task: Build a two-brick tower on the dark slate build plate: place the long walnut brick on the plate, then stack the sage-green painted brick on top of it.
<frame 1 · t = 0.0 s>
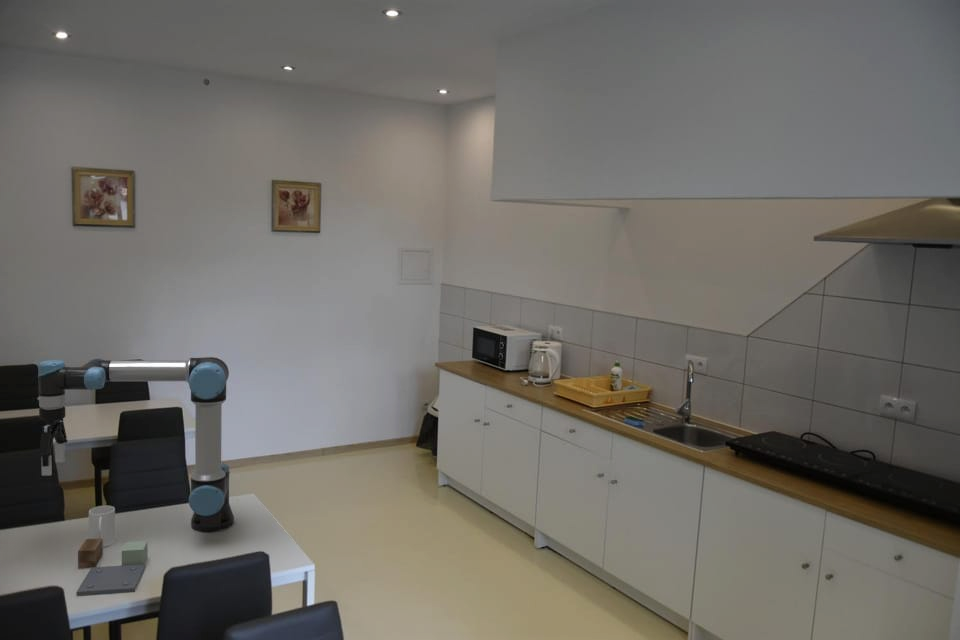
hand: (53, 468, 240), 28 cm above the table, fingers open, 13 cm apart
mug: (101, 545, 247), on the table
sage brick: (134, 563, 235), on the table
walnut brick: (90, 561, 235), on the table
build plate: (112, 581, 223), on the table
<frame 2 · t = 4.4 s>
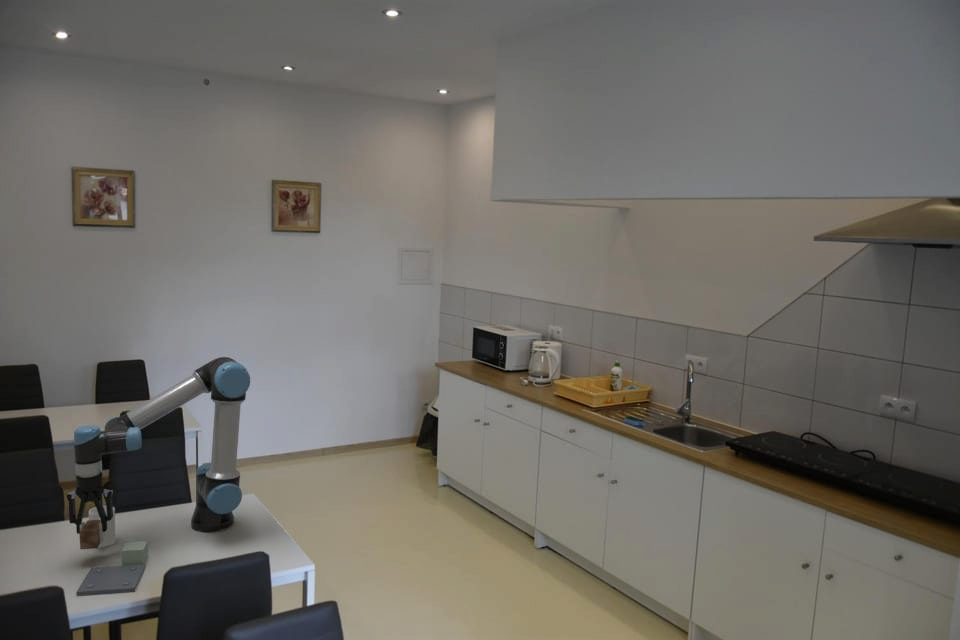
hand: (92, 541, 234), 7 cm above the table, fingers closed on walnut brick, 5 cm apart
walnut brick: (92, 542, 234), point 6 cm above the table, touching gripper
everything else where it was.
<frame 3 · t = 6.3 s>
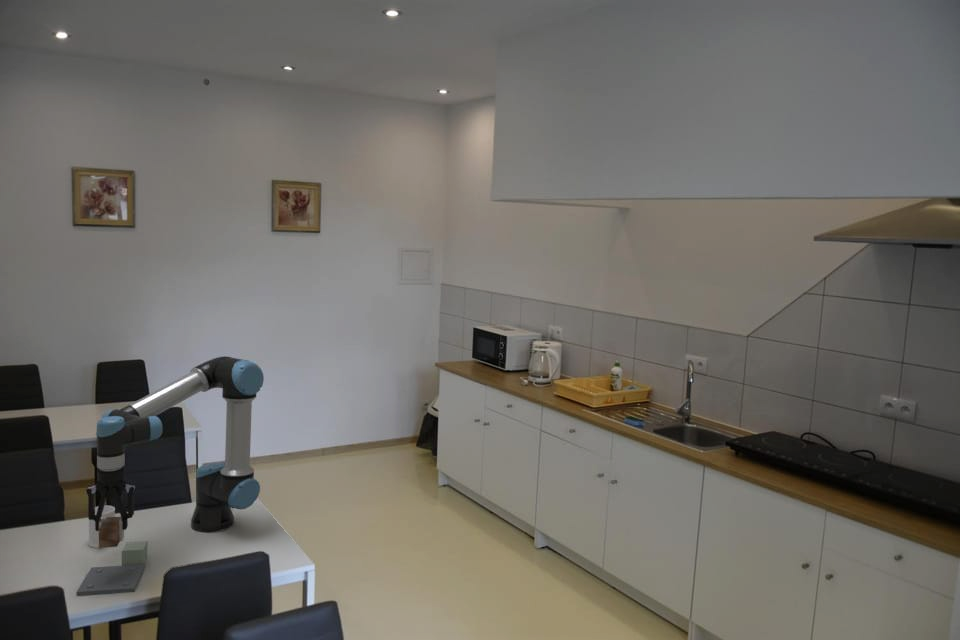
hand: (111, 539, 221), 14 cm above the table, fingers closed on walnut brick, 5 cm apart
walnut brick: (111, 540, 221), point 13 cm above the table, touching gripper
everything else where it was.
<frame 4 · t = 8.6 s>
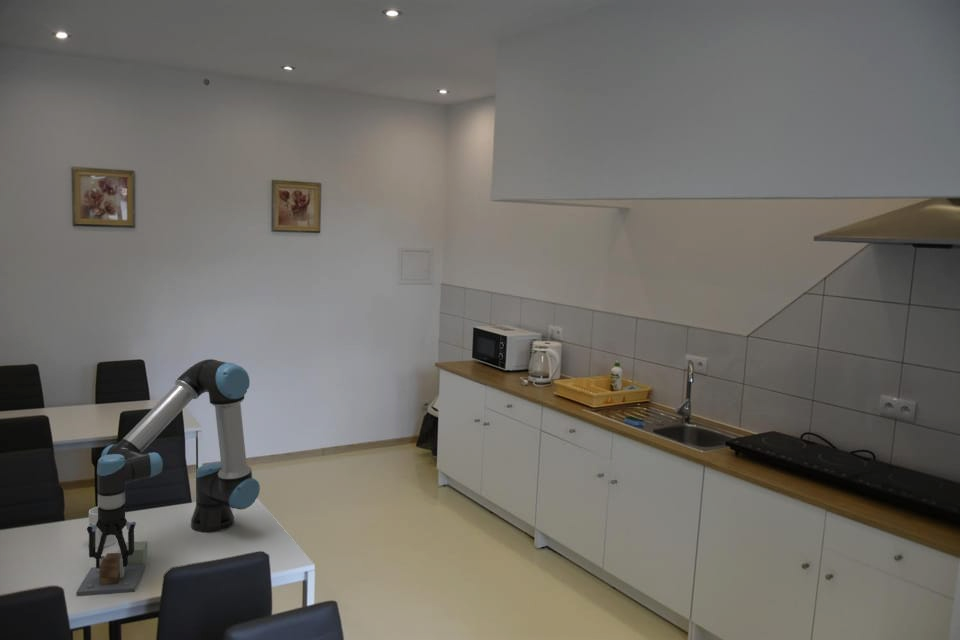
hand: (112, 576, 222), 2 cm above the table, fingers closed on walnut brick, 5 cm apart
walnut brick: (112, 577, 222), point 1 cm above the table, touching build plate, gripper
everything else where it was.
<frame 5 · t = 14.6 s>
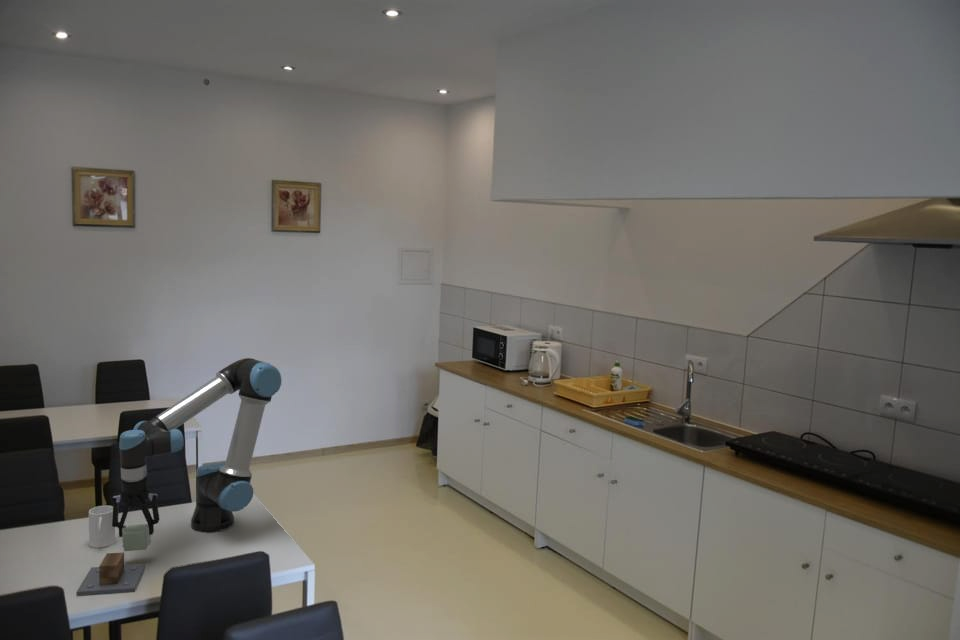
hand: (137, 544, 235), 6 cm above the table, fingers closed on sage brick, 6 cm apart
sage brick: (137, 546, 235), point 6 cm above the table, touching gripper
walnut brick: (112, 577, 222), point 1 cm above the table, touching build plate
everything else where it was.
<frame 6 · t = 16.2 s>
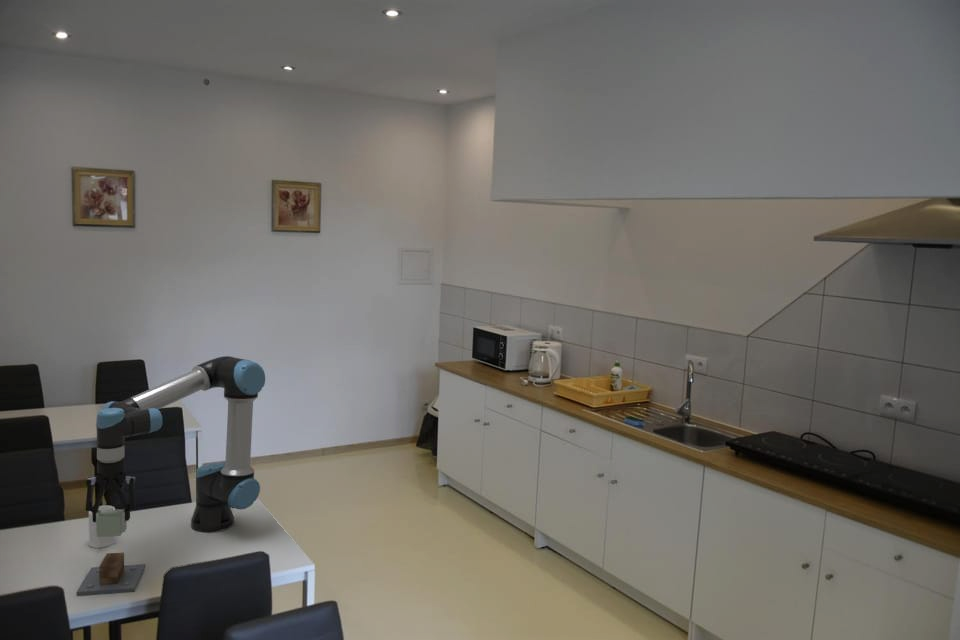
hand: (111, 530, 221), 16 cm above the table, fingers closed on sage brick, 6 cm apart
sage brick: (111, 532, 221), point 16 cm above the table, touching gripper
everything else where it was.
when the fingers open (7 cm above the table, at t = 18.1 s): sage brick stays where it is, resting on walnut brick.
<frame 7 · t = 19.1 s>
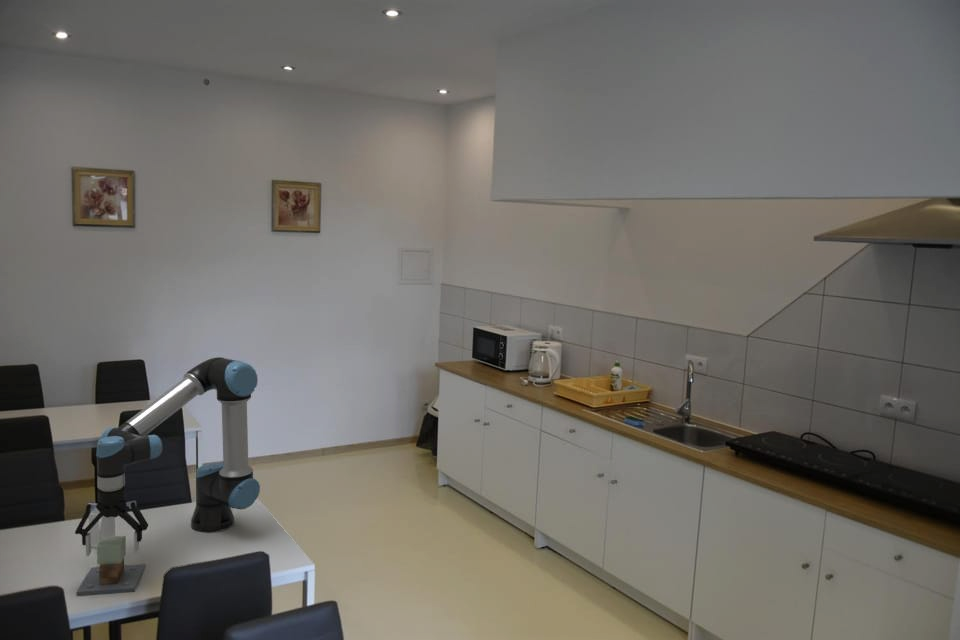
hand: (112, 552, 222), 9 cm above the table, fingers open, 13 cm apart
sage brick: (111, 559, 222), point 7 cm above the table, touching walnut brick
walnut brick: (112, 577, 222), point 1 cm above the table, touching build plate, sage brick
everything else where it was.
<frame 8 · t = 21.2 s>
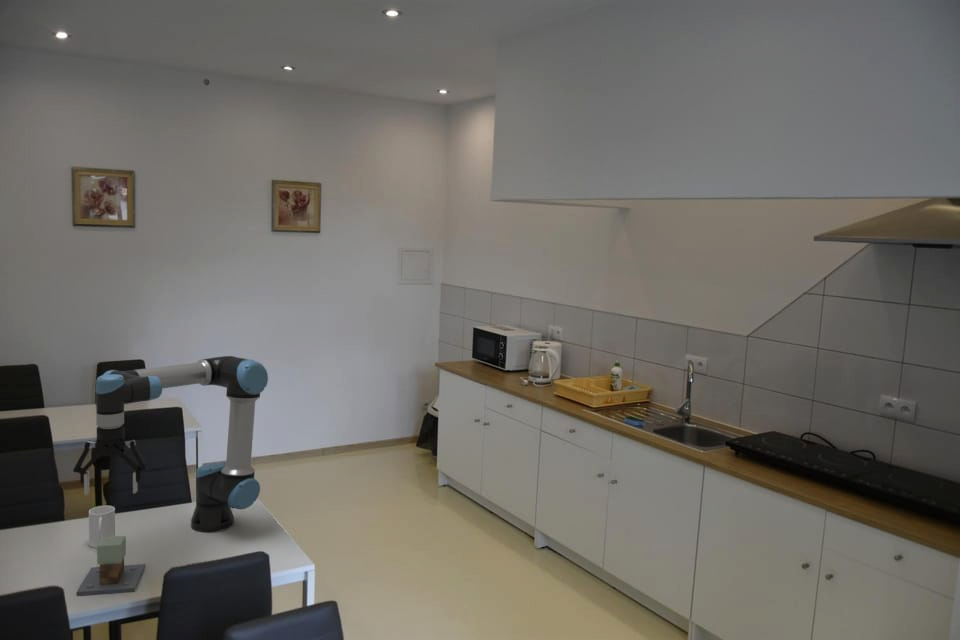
hand: (111, 492, 219), 29 cm above the table, fingers open, 13 cm apart
nothing on the table moved.
at the end: walnut brick inside the target area on the build plate (0.1 cm from its centre), point 1.2 cm above the build plate's base; sage brick 0.0 cm off-centre on the walnut brick, point 6.0 cm above the walnut brick's base; sage brick tilted 0° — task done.
